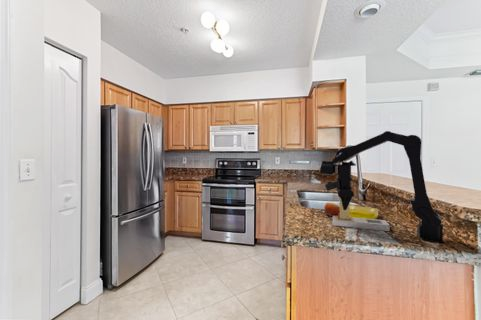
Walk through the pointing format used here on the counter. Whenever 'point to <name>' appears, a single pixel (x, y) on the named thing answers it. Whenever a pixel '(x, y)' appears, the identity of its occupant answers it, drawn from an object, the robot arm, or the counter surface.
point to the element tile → (363, 212)
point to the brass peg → (344, 211)
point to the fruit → (331, 209)
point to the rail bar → (361, 223)
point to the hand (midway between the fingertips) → (344, 208)
